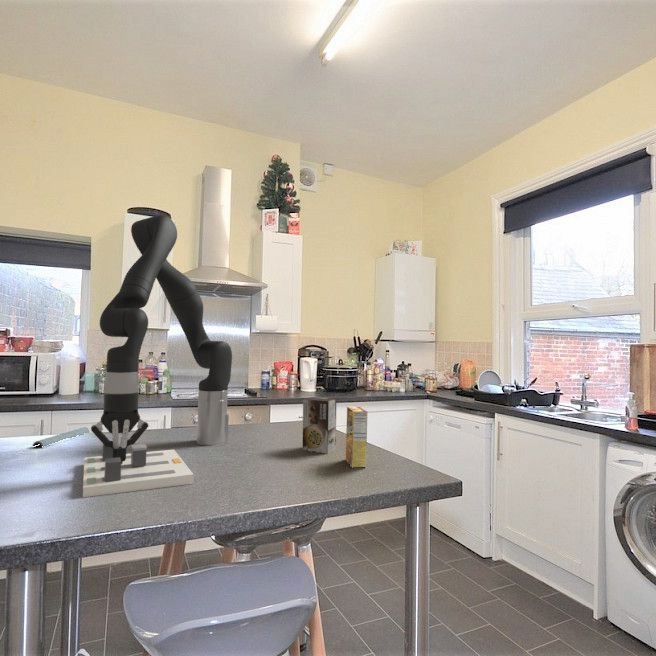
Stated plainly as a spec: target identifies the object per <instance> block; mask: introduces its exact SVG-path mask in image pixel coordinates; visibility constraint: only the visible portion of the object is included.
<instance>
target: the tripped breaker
mask: <svg viewBox="0 0 656 656" xmlns="http://www.w3.org/2000/svg"><path fill="white" fill-rule="evenodd" d="M130 448H131V449H130V451H131V465H132V467H135V466H145V465H146V452H147V450H148V447H147V445H146V443H139V444H133V445H130Z"/></svg>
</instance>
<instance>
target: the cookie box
mask: <svg viewBox="0 0 656 656" xmlns="http://www.w3.org/2000/svg"><path fill="white" fill-rule="evenodd" d="M336 446H337V398H333V397H332V398H331V397H316V396H315V397H313V396H312V397H307V398H304V399H302V448H301V449H302V451H305V450H308V452H312V451H316V452H315V453H319V452H322V453H321V454H326V453H329V454H331V453H332V452H331V451H333V450H335V449H337V447H336ZM335 451H336V450H335ZM330 452H331V453H330ZM333 452H334V451H333Z"/></svg>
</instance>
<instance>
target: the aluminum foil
mask: <svg viewBox="0 0 656 656" xmlns="http://www.w3.org/2000/svg"><path fill="white" fill-rule="evenodd" d="M90 432H91V431H90V429H89V428H88V427H85V426H83V427H80V428H78V429H74V430H71V431H65V432H64V433H60V434H57V435H53V436H50V437H47V438H46V437H45V438H44V439H39V440H36V441H34V442H33V444H32V446H35V445H38V444H40V445H41V446H40V448H41V447H42V446H43V447H44V446H47V445H49V444H52V443H55V442H58V441H60V440H63V439H66V438H72V437H76V436H77V435H82V436H85V435H84V433H88V434H90ZM76 438H77V437H76Z"/></svg>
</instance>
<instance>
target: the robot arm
mask: <svg viewBox="0 0 656 656" xmlns="http://www.w3.org/2000/svg"><path fill="white" fill-rule="evenodd" d="M130 231H131V232H130V233H131V236H132V240H133V242H134V243H135V247H136V248H137V250H138V251H139V253H140V256H139V258H137V260H136V261H135V262H134V263H133V264H132V266H130V268H129V269H128V271H127V272H126V273H125V276H124V278H123V281H122V284H121V286H120V289H119V290H118V291H119V292H118V293H117V294H116V295H115V296H114V297H113V298H112V300H110V301H109V303H108V304H107V305H106V306H105V308H104V309H103V311H102V313H101V315H100V318H99V327H100V330H101V332H102V333H103V334H104V335H105V336H107V337H110V338H127V339H126V341H125V342H124V344H123V345H119V346H114V347H111V348H109V349H108V350H107V355H106V368H105V369H106V371H105V372H106V373H105V377H104V388H103V389H104V390H103V393H104V394H103V411H102V412H103V413H102V415H101V416H100V420H99V421H98V422H96V423H95V424H92V425H91V426H90V430H91V431H90V432H92V433H93V434H94V436H95V437H97V438H98V440H99V441H100V442H101V443H102V445H103V444H104V445H105V446H106V447H111V448H113V458H118V457H120V459H121V464H123V461H125V460H126V454H127V448H128V447H129V446H131V445H135V443H136V442H137V441H138V440H139V439H140V438H141V436H142V435H143V434H144V432H145V431H146V430H147V429H148V428H149V426H150V425H149V423H148V422H147V421H144V420H143V419H141V416H140V414H139V396H140V395H139V394H140V379H139V378H140V377H139V369H140V367H139V364H140V353H141V349H142V347H143V346H142V345H143V342H144V339H145V337H146V334H147V331H148V327H149V318H148V315H147V313H146V312H145V311H144V310H143V308H144V307H145V306H147V304H148V303H149V299H150V296H151V293H152V290H153V288H154V284H155V281H156V280H157V282H158V284H159V286H160V288H161V290H162V291H163V294H164V296H165V298H166V300H167V302H168V305H169V306H170V308H171V310H172V312H173V314H174V315H175V317H176V319H177V320H178V323H179V325H180V327H181V329H182V331H183V333H184V335H185V337H186V340H187V343H188V345H189V348H190V350H191V353H192V356H193V359H194V360H195V363H196V364H197V365H198V366H199V367H201V368H203V369H208V375H207V376H206V378H204V379H202V380H200V381H199V382H198V399H197V400H198V401H197V423H196V426H197V427H196V430H197V431H196V444H197V445H199V446H200V445H201V446H221V445H223V444H228V443H229V418H230V416H229V413H228V394H229V393H228V392H229V391H228V389H229V387H228V386H229V384H230V381H231V376H232V363H233V352H232V348H231V346H230V344H229V343H228V342H227V341H222V340H221V341H220V340H211V339H210V337H209V336H208V333H207V332H206V330H205V328H204V323H203V322H204V321H203V318H204V303H203V300H202V298H201V295H200V293H199V291H198V289H197V287H196V285H195V283H194V282H193V281H192V280H191V279H190V278H189V277H188V276H186V275H185V274H184V273H182V272H181V271H180V270H179V269H177V268H176V267H174V266H173V265H172V264H171V263H170V262H169V261H168V259H167V258H168V256H169V254H170V253H171V251H172V250H173V248H174V247H175V244H176V242H177V239H178V230H177V226H176V224H175V222H174V221H173V219H171V217H170V216H168V215H165V214H157V215H154V216H151V217H147V218H143V219H140V220H136V221H135V222H133V223H132V225H131V227H130ZM103 426H104V427H105V429H106V430H107V431H108V432H109V433H110V434H112V435H111V437H112V440H110V439H109V438H108V437H107V435H105V434H104V432H103V430H104V427H103ZM134 427H137V429H136V430H135V431H134V433H132V435H131V436H130V437H128V436H129V433H130V432H132V430H133V429H134ZM119 434H121V436H120V439H119ZM119 440H120V445H119Z"/></svg>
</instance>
